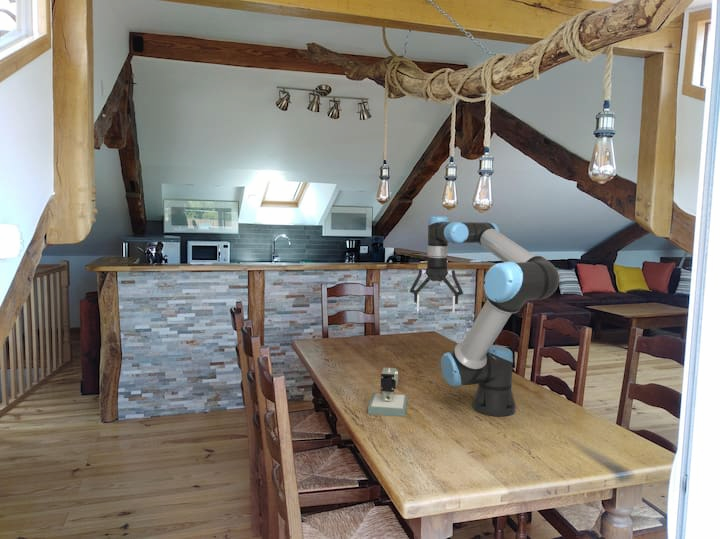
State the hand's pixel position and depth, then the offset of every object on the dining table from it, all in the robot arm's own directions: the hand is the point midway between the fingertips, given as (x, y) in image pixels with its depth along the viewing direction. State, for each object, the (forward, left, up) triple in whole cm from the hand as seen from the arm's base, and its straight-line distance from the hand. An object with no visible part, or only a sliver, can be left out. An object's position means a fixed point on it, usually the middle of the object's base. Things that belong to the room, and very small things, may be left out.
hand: (435, 311), depth 200 cm
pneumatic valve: (+16, +18, -30) cm, 38 cm away
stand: (+16, +18, -33) cm, 41 cm away
